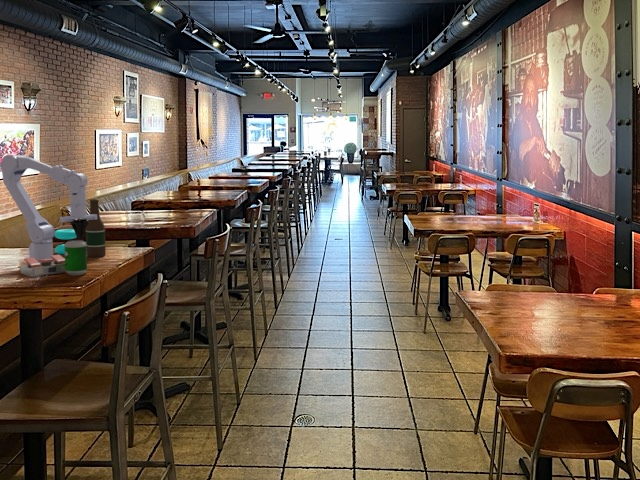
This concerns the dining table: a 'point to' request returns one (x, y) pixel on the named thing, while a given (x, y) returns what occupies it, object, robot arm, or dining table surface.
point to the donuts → (63, 235)
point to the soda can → (75, 257)
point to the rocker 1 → (32, 262)
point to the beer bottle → (95, 233)
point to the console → (43, 269)
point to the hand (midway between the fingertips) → (80, 239)
